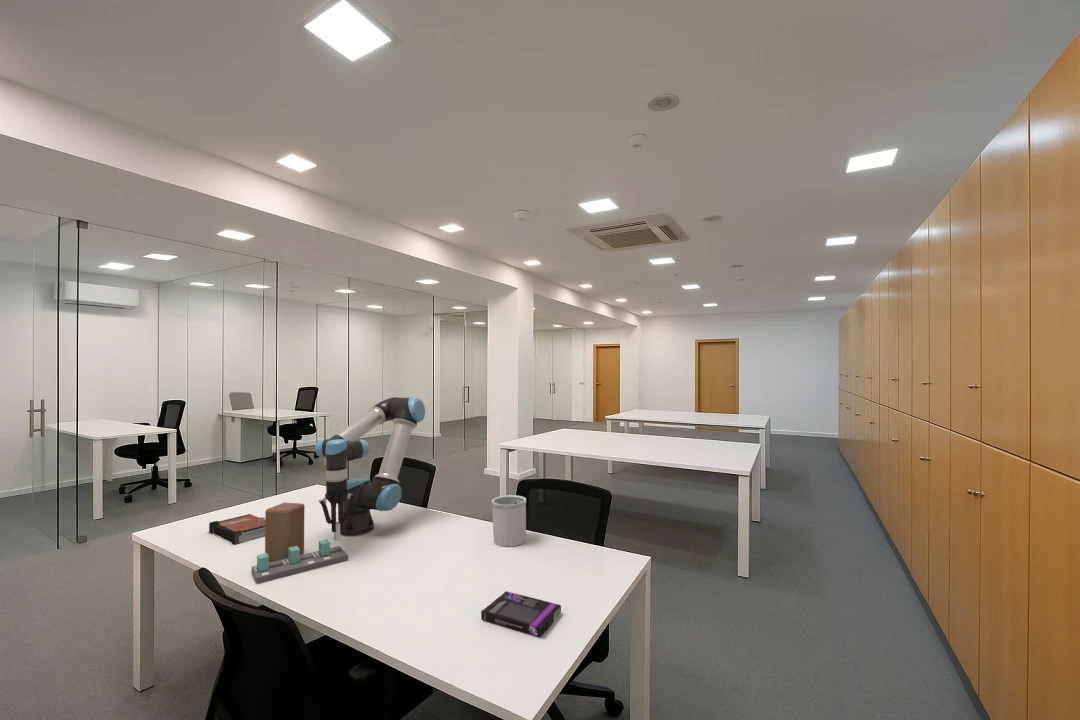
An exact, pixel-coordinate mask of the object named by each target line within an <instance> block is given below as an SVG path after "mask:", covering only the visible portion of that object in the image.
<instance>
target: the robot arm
mask: <svg viewBox="0 0 1080 720" xmlns="http://www.w3.org/2000/svg"><path fill="white" fill-rule="evenodd" d="M425 415H426V408H425V404H424V402H423V401H422V400H421V398H419V397H412V396H411V397H395V396H394V397H389V398H386V399H384V400H381V401H380V402H378V403H376V404H375V405H373V406H372V407H370V408H369V410H368V412H366V413H365V414H363V415H362V416H361V417H359V418H358V419H356V420H355V421H353V422H352V423H351V424H349V425H347V426H346V427H344V428H343V429H342V430H340V431H339V432H338V433H335V434H334V435H333V436H331V437H330V438H328V439H327V438H324V439H320V440H318V441H317V442H316V444H315V446H314V452H315V454H316V456H318V457H321V458H325V470H326V471H325V474H326V475H325V476H326V477H325V478H326V479H325V480H326V483H325V490H326V492H325V494H324V497H323V498H322V499H319V500H318V503H319V504H320V505H321V508H322V510H323V511H322V512H323V514H324V519H325V522H326V523H327V524H329V525H331V532H332V533H333V535H334V536H333V538H334V540H335V541H336V542H339V541H341V536H347V537H351V536H353V537H354V536H360V535H364V534H365V535H366V534H367V533H371V532H372V531H373V530H374V529H375V522H374V519H373V516H372V514H371V510H374V511H380V512H389V511H392V510H394V509H395V508H396V507H397V506H398V504H399V502H400V501H401V498H402V487H401V486H400V480H399V478H398V476H399V474H400V471H401V467H402V464H403V461H404V457H405V453H406V450H407V447H408V444H409V440H410V437H411V434H412V432H413V430H414V429H416V428H417V425H418V423H420V422H423V420H424V418H425ZM386 422H392V423H393V428H392V431H391V435H390V438H389V441H388V444H387V447H386V450H385V453H384V456H383V458H382V461H381V465H380V468H379V472H378V473H377V474H375V476H373V478H372V480H371V478H370V477H366V476H365V477H357V478H353V479H349V480H348V479H347V478H348V462H351V461H355V460H358V459H362V458H364V457H367V456H368V454H369V452H370V444H369V443H368V442H367V440H364V439H360V438H362V437H363V436H365V435H366V434H368V432H370V431H371V430H373V429H374V428H375V427H377V426H378V425H379V426H381V425H383V424H384V423H386ZM327 502H329V503H330V512H329V509H328V506H327ZM337 520H338V521H337Z"/></svg>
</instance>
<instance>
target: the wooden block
mask: <svg viewBox="0 0 1080 720" xmlns="http://www.w3.org/2000/svg"><path fill="white" fill-rule="evenodd" d="M264 518H265V537H264V553H267V554H268V556H269V562H273V561H277V560H281V559H286V558H288V548H290V547H294V546H298V547H299V549H300V555H302V554H305V504H304V503H299V502H297V503H296V502H282V503H280V504H276V505H274V506H271V507H269V508H267V509H266V510H265V517H264Z"/></svg>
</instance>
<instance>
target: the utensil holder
mask: <svg viewBox="0 0 1080 720" xmlns="http://www.w3.org/2000/svg"><path fill="white" fill-rule="evenodd" d="M515 503H516V504H515ZM526 505H527V498H526V497H524V496H522V495H515V494H507V495H500V496H497V497H495V498H492V500H491V506H492V529H493V530H492V533H493V544H495V545H496V546H500V547H504V548H505V547H507V548H508V547H516V546H517V547H518V546H521V545H523V544H524V543H526V541H527V507H526Z"/></svg>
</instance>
